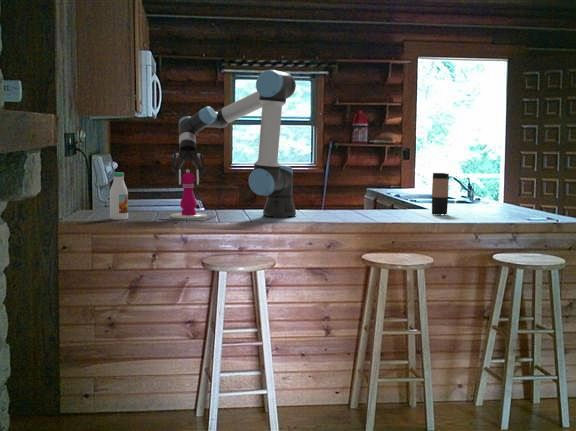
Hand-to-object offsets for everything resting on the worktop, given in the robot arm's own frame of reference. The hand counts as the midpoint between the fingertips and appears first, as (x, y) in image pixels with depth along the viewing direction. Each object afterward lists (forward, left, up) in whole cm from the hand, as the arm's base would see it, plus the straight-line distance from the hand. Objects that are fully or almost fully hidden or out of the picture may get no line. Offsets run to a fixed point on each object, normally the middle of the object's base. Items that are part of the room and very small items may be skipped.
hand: (189, 182), depth 312 cm
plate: (+1, -3, -16) cm, 16 cm away
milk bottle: (+28, +10, -16) cm, 34 cm away
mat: (+1, -3, -16) cm, 16 cm away
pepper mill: (+1, -3, -15) cm, 15 cm away
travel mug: (-109, -53, -16) cm, 122 cm away
